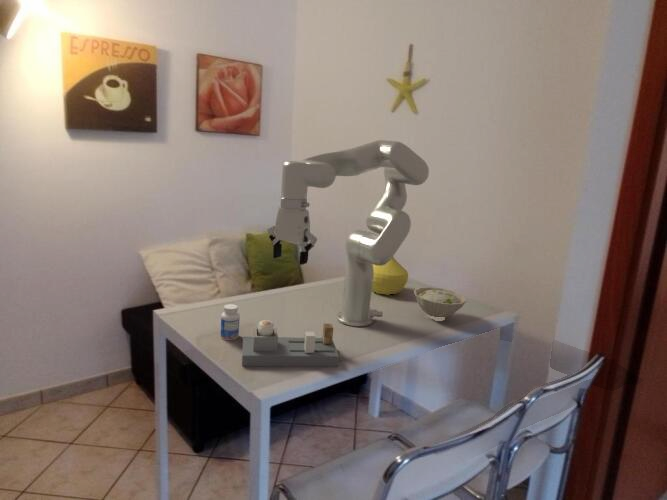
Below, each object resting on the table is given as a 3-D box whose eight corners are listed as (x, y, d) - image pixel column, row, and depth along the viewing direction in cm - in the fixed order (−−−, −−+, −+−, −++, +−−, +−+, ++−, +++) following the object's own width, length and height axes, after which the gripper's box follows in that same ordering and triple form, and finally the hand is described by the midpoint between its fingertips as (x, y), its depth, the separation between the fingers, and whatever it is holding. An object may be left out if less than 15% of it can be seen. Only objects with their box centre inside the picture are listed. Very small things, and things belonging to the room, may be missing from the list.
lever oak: (330, 339, 139) (331, 323, 138) (331, 343, 136) (333, 327, 135) (322, 339, 139) (323, 323, 137) (323, 343, 136) (325, 327, 135)
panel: (331, 347, 141) (333, 325, 140) (338, 366, 130) (340, 342, 128) (242, 346, 137) (243, 323, 135) (241, 365, 125) (243, 341, 123)
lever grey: (312, 348, 132) (314, 331, 131) (313, 353, 129) (315, 336, 128) (304, 348, 132) (305, 331, 131) (305, 352, 129) (306, 335, 128)
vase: (353, 288, 200) (358, 244, 196) (382, 282, 213) (387, 241, 209) (386, 301, 188) (392, 255, 183) (414, 294, 200) (420, 250, 196)
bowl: (440, 332, 161) (445, 304, 159) (399, 313, 176) (402, 287, 173) (473, 322, 174) (478, 296, 171) (432, 305, 188) (436, 281, 186)
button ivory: (272, 333, 133) (273, 320, 132) (272, 339, 129) (273, 325, 128) (258, 333, 132) (258, 319, 131) (258, 339, 128) (259, 325, 127)
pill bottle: (221, 332, 144) (223, 302, 142) (239, 333, 145) (241, 303, 143) (219, 340, 139) (220, 309, 137) (237, 341, 140) (239, 310, 137)
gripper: (325, 207, 137) (320, 264, 141) (277, 199, 145) (274, 253, 149) (311, 209, 131) (306, 268, 135) (262, 201, 139) (259, 257, 143)
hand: (290, 260), depth 142 cm, fingers open, 9 cm apart
